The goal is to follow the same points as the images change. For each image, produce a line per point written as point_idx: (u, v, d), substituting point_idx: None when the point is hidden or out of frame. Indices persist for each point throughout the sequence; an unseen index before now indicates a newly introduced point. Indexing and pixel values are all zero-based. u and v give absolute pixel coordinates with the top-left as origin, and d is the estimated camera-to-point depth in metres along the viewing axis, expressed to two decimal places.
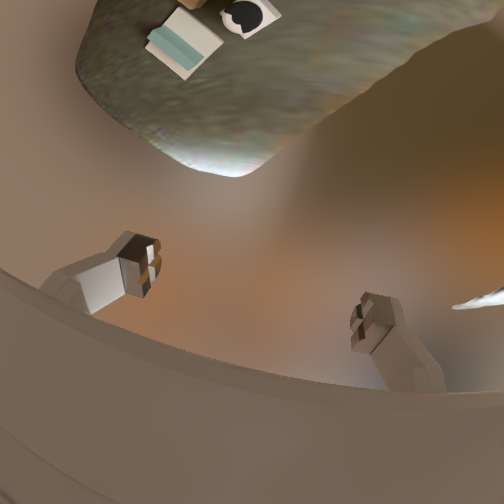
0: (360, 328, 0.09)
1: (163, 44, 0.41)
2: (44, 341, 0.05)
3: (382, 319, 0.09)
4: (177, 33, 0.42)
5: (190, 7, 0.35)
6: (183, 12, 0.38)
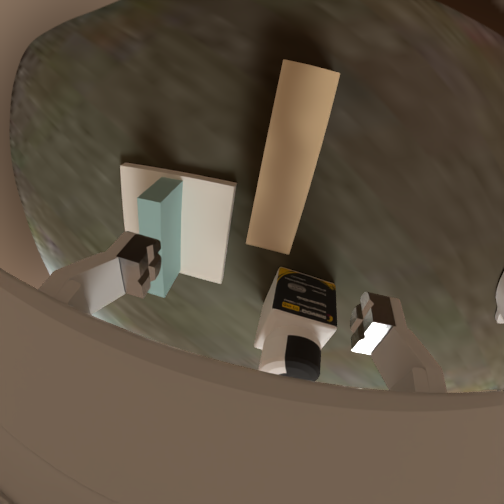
0: (360, 328, 0.09)
1: None
2: (44, 341, 0.05)
3: (382, 319, 0.09)
4: (183, 212, 0.29)
5: (250, 242, 0.25)
6: (228, 202, 0.27)
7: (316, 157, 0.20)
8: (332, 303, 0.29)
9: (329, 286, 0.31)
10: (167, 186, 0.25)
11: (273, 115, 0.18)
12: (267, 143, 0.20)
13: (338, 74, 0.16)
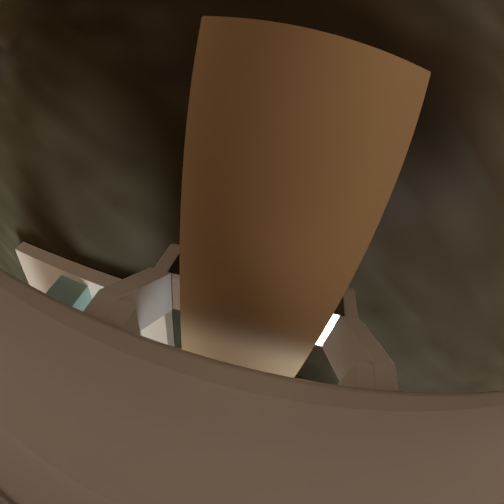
0: None
1: None
2: (44, 341, 0.05)
3: None
4: None
5: None
6: (161, 326, 0.15)
7: (318, 332, 0.07)
8: None
9: None
10: None
11: (185, 225, 0.06)
12: (183, 295, 0.07)
13: (424, 75, 0.03)
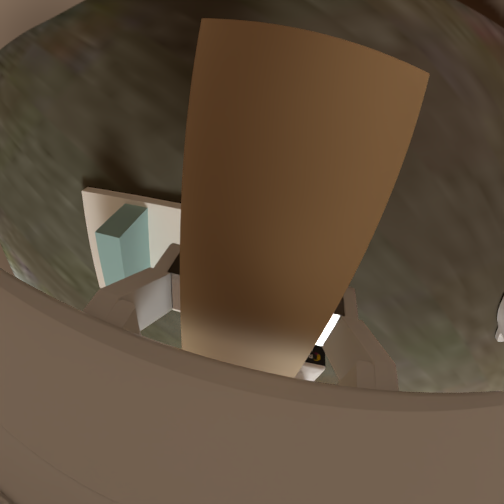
0: None
1: (113, 274, 0.22)
2: (44, 341, 0.05)
3: None
4: (151, 242, 0.25)
5: None
6: None
7: (318, 333, 0.07)
8: None
9: None
10: (129, 216, 0.22)
11: (185, 227, 0.06)
12: (184, 296, 0.07)
13: (423, 77, 0.03)
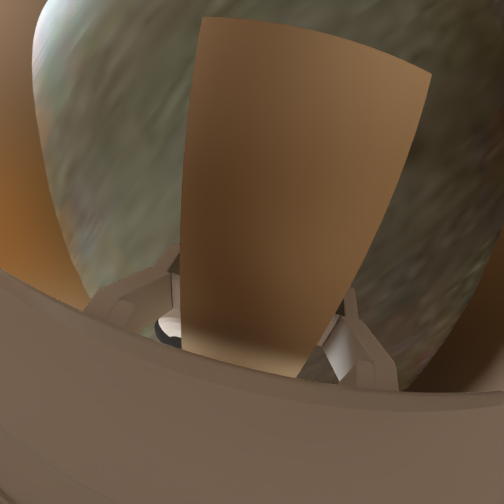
0: None
1: None
2: (44, 341, 0.05)
3: None
4: None
5: None
6: None
7: (318, 334, 0.07)
8: None
9: None
10: None
11: (186, 227, 0.06)
12: (184, 297, 0.07)
13: (426, 77, 0.03)
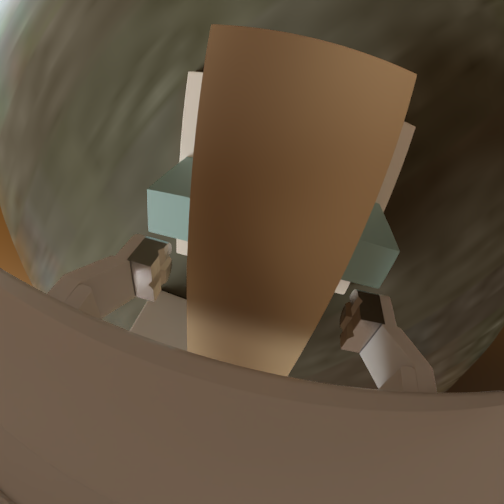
0: (349, 326, 0.10)
1: None
2: (44, 341, 0.05)
3: (371, 317, 0.09)
4: None
5: None
6: None
7: (317, 317, 0.08)
8: None
9: None
10: None
11: (194, 215, 0.07)
12: (190, 282, 0.08)
13: (411, 77, 0.04)
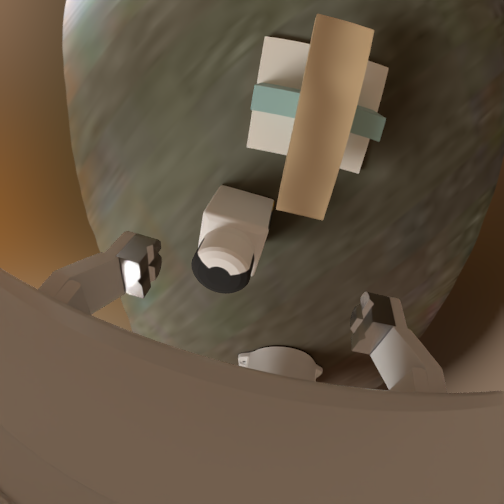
0: (360, 328, 0.09)
1: None
2: (44, 341, 0.05)
3: (382, 319, 0.09)
4: None
5: (281, 207, 0.23)
6: (344, 167, 0.29)
7: (353, 112, 0.17)
8: None
9: None
10: None
11: (308, 68, 0.16)
12: (302, 97, 0.17)
13: (372, 31, 0.13)
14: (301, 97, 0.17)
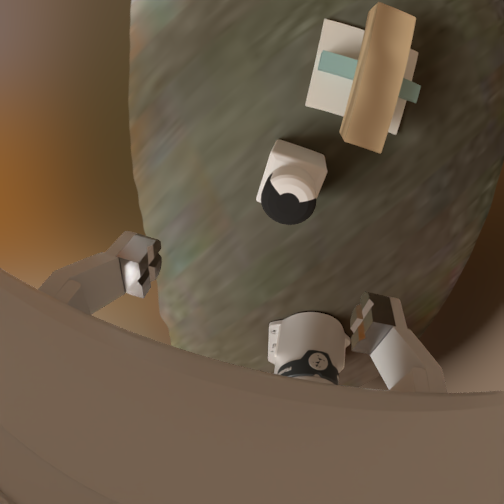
0: (360, 328, 0.09)
1: None
2: (44, 341, 0.05)
3: (382, 319, 0.09)
4: None
5: (349, 140, 0.25)
6: None
7: (403, 71, 0.19)
8: None
9: None
10: None
11: (372, 37, 0.18)
12: (368, 56, 0.19)
13: (415, 18, 0.15)
14: (367, 56, 0.20)
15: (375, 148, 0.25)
